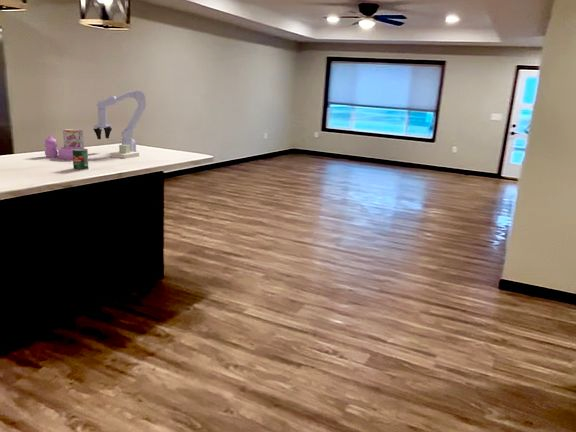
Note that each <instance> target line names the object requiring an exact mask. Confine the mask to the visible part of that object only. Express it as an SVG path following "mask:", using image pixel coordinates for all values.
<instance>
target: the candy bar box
mask: <svg viewBox="0 0 576 432" xmlns="http://www.w3.org/2000/svg"><path fill="white" fill-rule="evenodd" d="M62 132H63V133H62V135H63V147H82V148H85V146H84V130H81V129H70V128H64V129H62Z"/></svg>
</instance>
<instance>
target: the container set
mask: <svg viewBox="0 0 576 432" xmlns="http://www.w3.org/2000/svg"><path fill="white" fill-rule="evenodd" d="M44 147H45V148H46V149H45V151H44V155H45V156H46V157H47V158H57V156H58V160H60V159H61V160H62V161H73V150H72V149H77V148H82V147H64V146H61V147H58V143H57V139H56V138H54V137H53V135H48V137H47V138H45V139H44ZM57 147H58V148H57ZM56 148H57V149H56ZM83 149H86V148H85V147H84V148H83Z"/></svg>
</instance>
